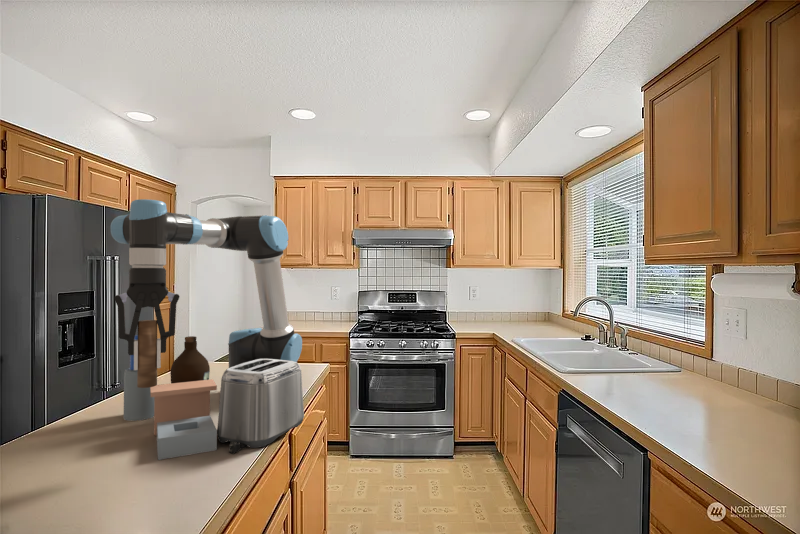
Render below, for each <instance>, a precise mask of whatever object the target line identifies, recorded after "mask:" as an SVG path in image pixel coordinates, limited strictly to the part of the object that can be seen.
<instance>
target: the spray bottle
mask: <svg viewBox="0 0 800 534" xmlns="http://www.w3.org/2000/svg"><path fill="white" fill-rule="evenodd" d="M134 340H138V334H135V338H134ZM153 416H154V397H151V392H150V387H149V388H138V387H137V370H134V355H129V367H128V368H125V369H124V373H123V420H124V421H127V422H133V421H134V422H135V421H137V420H138V421H144V419H145V420H149V419H151V418H154V417H153ZM148 418H149V419H148Z"/></svg>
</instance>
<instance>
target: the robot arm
mask: <svg viewBox="0 0 800 534" xmlns="http://www.w3.org/2000/svg"><path fill="white" fill-rule="evenodd" d="M110 235H111V237H112V238H113V240H115V241H116V242H117V243H119V244H123V245H124V244H125V245H129V248H128V250H129V252H128V253H129V256H128V257H129V260H128V263H129V265H130V266H131V268H130V269H129V270H128V271H129V272H128V275H129V276H128V288H127V290H126V292H123V293H121V294H116V295H115V296H114V298H113V300H114V301H115V303H116V306H117V321H118V322H117V323H118V324H117V325H118V338H119V339H120V340H125V341H127V353H128V356H130V355H134V370H138V340H134V338H135V335H137V330H138V321H140V316H141V312H142V309H144V308H147V307H149V308H153V309H154V314H155V318H156V319H155V320H157V329H158V332H159V338H158V337H157V369H161V368H162V367H161V365H162V364H161V363H162V362H161V359H162V357H161V356H162V355H161V353H162V354H164V353H165V354H166V351H167V339H169V338H170V337H173V336H175V335H176V334H175V333H176V316H177V304H178V301H179V300H180V295H179V294H178V293H174V292H172V291H171V292H170V291H169V288H167V269H166V267H165V266H166V265H167V245H203V246H204V245H206V246H207V247H209V248H211V249H212V248H213V249H222V250H229V251H236V252H237V251H239V252H247V253H246V255H247V258H248V260H250V261H251V262H252V263H253V267H254V273H255V280H256V286H257V292H258V293H257V294H258V299H259V304H260V305H259V306H260V313H261V319H262V325H263V327H253V328H245V329H240V330H235V331H232V332H231V333H230V334H229V336H228V343H227V345H228V368H230V367H233V366H236V365H239V364H242V363H245V362H249V361H253V360H257V359H278V360H288V361H294V362H297V363H298V360H299V359H300V356H301V354H302V349H303V337H302V336H301V335H300V334H299V333H295V327H294V326H293V325H292V324H291V323H289V318H288V309H287V302H286V296H285V295H286V294H285V287H284V281H283V280H284V279H283V275H282V273H283V272H282V265H281V258H282V256H283V255H284V251H285V250H286V249H287V248H288V245H289V242H288V241H289V233H288V229H287V225H286V224H285V223H284V221H283V220H282V219H281V218H280V217H278V216H275V215H268V214H267V215H246V216H241V215H239V216H231V217H230V216H229V217H224V218H223V217H222V218H216V217H215V218H214V217H212V218H209V219H207V220H200V219H199V218H198V217H196V216H192V215H189V214H187V213H186V214H181V213H175V212H168V209H167V203H166V202H164V201H162V200H158V199H148V198H147V199H146V198H145V199H143V198H141V199H140V198H139V199H134V200H132V201H131V203H130V206H129V214H124V215H117V216H116V217H114V219H113V220H112V221H111V223H110ZM166 297H167V298H168V302H170V303H169V320H168V321H169V322H168V331H166V329H165V324H164V320H163V315H162V311H161V310H162V309H161V307H160V304H161V303H162V302H163V301H164V300H165V298H166ZM127 298H129V299H130V300H131V302H133V304H134V305H135V309H134V312H133V317H132V322H131V326H130V328H129V329H130V330H129V333H126V317H125V316H126V315H125V312H126V309H125V303H126V302H127Z"/></svg>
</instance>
